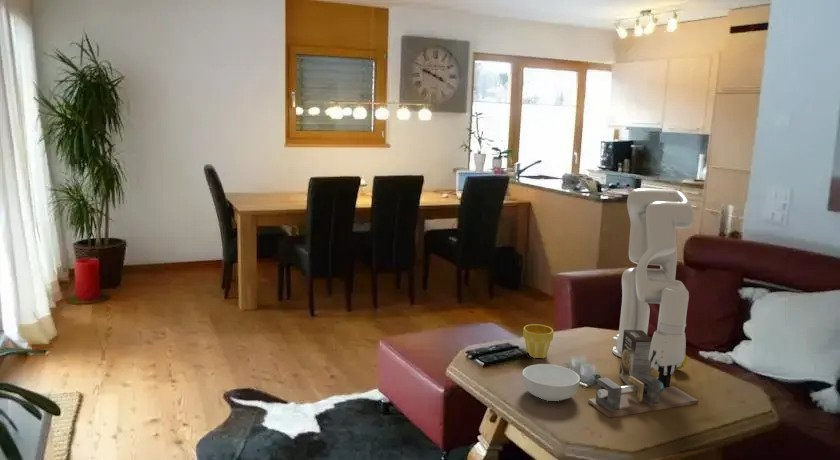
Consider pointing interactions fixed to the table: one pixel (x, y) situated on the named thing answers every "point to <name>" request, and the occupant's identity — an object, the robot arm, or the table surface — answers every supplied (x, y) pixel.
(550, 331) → the plant pot
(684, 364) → the lemon
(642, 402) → the shaft frame
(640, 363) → the coffee box
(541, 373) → the cereal bowl
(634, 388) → the shaft
